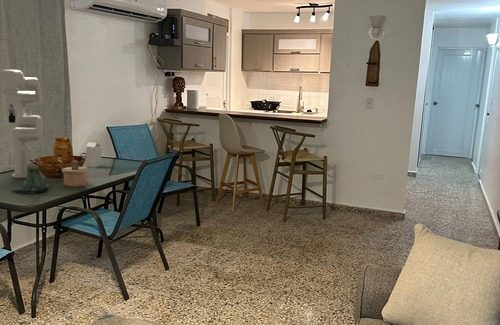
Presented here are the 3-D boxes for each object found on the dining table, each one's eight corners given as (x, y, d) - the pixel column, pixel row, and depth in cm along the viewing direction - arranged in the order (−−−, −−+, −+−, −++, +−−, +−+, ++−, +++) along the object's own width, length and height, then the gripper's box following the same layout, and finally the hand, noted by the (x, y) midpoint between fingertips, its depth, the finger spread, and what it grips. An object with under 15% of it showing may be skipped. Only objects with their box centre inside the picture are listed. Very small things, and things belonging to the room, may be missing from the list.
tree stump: (41, 184, 267) (44, 157, 261) (53, 199, 254) (56, 171, 248) (8, 187, 255) (10, 159, 249) (19, 203, 242) (21, 174, 236)
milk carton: (95, 167, 315) (94, 141, 312) (86, 166, 317) (85, 140, 314) (101, 165, 322) (100, 140, 318) (93, 164, 324) (92, 139, 320)
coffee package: (66, 169, 305) (65, 138, 301) (52, 168, 309) (50, 137, 304) (76, 167, 314) (75, 136, 310) (62, 165, 318) (60, 135, 314)
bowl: (63, 181, 274) (63, 169, 272) (85, 180, 279) (85, 168, 278) (64, 186, 262) (64, 173, 261) (87, 185, 268) (87, 172, 266)
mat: (82, 173, 298) (82, 172, 298) (107, 171, 305) (107, 171, 305) (84, 178, 284) (84, 177, 284) (110, 177, 291) (110, 176, 290)
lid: (61, 168, 273) (61, 159, 272) (87, 167, 279) (86, 158, 278) (62, 174, 260) (61, 164, 258) (89, 173, 266) (88, 163, 264)
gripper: (3, 91, 259) (5, 119, 262) (2, 92, 244) (4, 123, 247) (17, 91, 262) (19, 119, 266) (17, 93, 247) (19, 123, 251)
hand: (12, 121), depth 257 cm, fingers open, 9 cm apart
